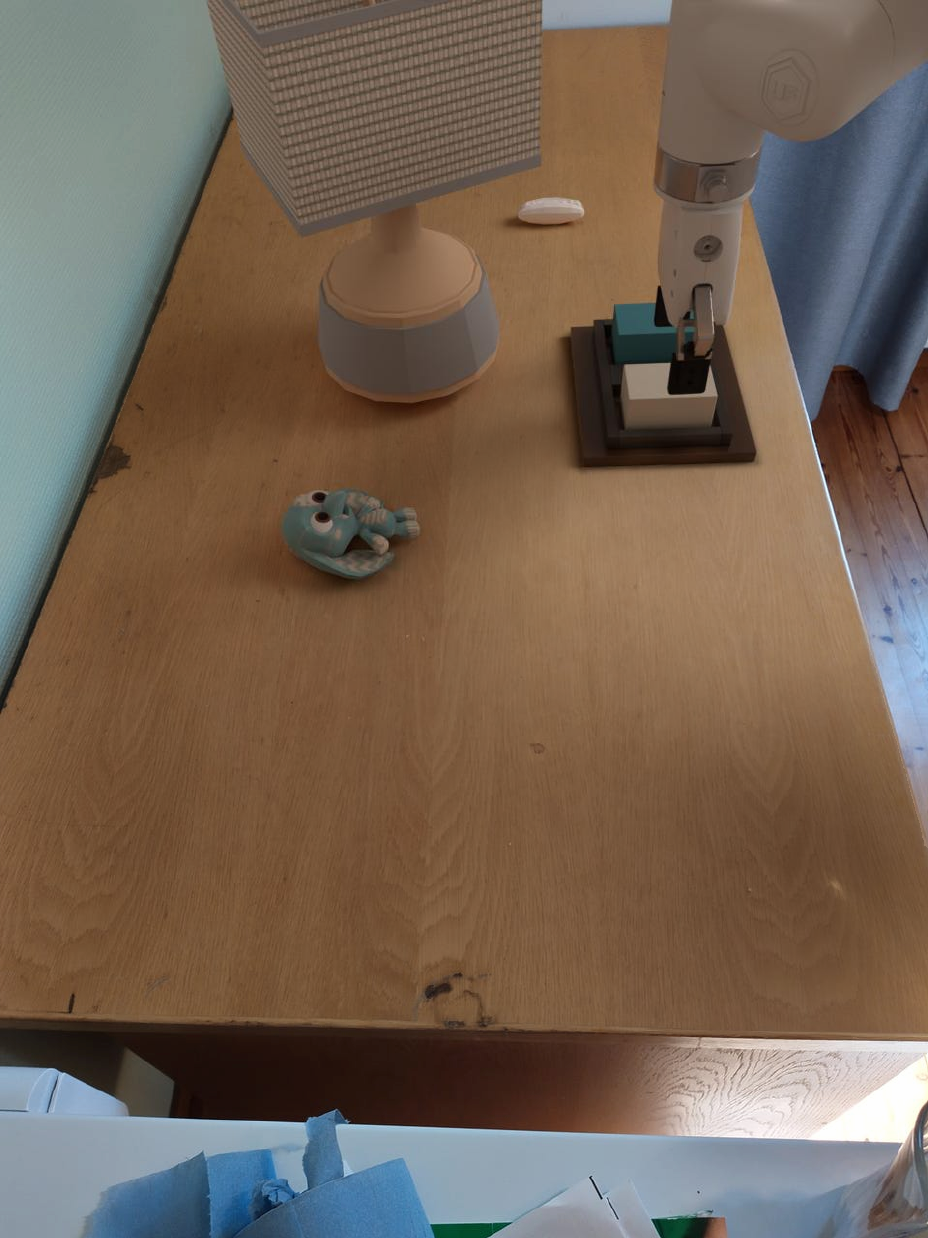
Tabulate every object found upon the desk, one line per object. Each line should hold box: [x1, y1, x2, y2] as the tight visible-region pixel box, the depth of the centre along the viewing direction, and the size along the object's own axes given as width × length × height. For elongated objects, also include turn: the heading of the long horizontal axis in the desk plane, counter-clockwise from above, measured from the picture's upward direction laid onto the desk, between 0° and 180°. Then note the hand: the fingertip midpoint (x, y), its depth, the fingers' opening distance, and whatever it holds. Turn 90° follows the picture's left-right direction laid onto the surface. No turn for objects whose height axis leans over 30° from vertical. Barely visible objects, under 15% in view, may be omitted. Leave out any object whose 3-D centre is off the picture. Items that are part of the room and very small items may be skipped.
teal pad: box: [611, 302, 694, 365], centre depth 90 cm, size 8×5×4 cm, turn 89°
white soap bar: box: [517, 196, 585, 226], centre depth 108 cm, size 3×8×3 cm, turn 88°
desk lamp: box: [205, 0, 543, 404], centre depth 80 cm, size 22×19×37 cm
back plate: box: [569, 318, 757, 467], centre depth 89 cm, size 16×20×3 cm
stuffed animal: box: [280, 488, 421, 581], centre depth 77 cm, size 11×7×12 cm
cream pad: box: [620, 363, 718, 430], centre depth 84 cm, size 8×5×4 cm, turn 89°
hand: (678, 357), depth 80 cm, fingers open, 9 cm apart
